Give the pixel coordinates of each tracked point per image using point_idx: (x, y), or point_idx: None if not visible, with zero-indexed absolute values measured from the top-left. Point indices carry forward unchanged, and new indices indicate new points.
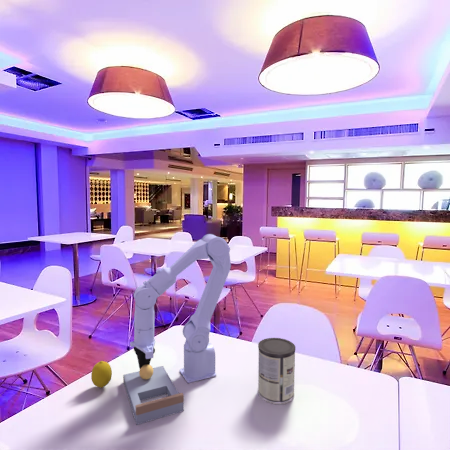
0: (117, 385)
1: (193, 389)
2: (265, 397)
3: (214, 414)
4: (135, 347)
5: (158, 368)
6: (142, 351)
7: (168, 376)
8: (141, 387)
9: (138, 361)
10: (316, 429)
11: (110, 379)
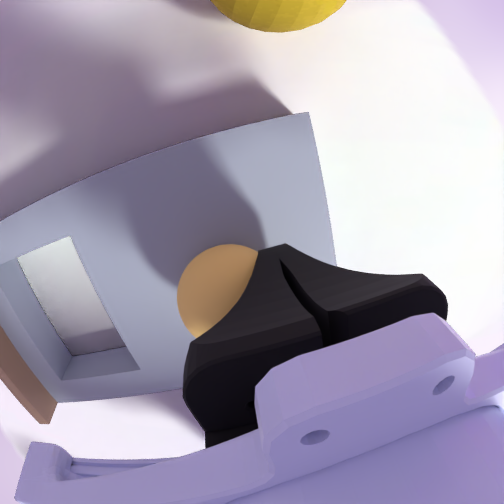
0: (268, 81)
1: (177, 416)
2: None
3: (65, 431)
4: (416, 313)
5: None
6: (227, 427)
7: None
8: (123, 252)
9: (291, 271)
10: None
11: (256, 29)
